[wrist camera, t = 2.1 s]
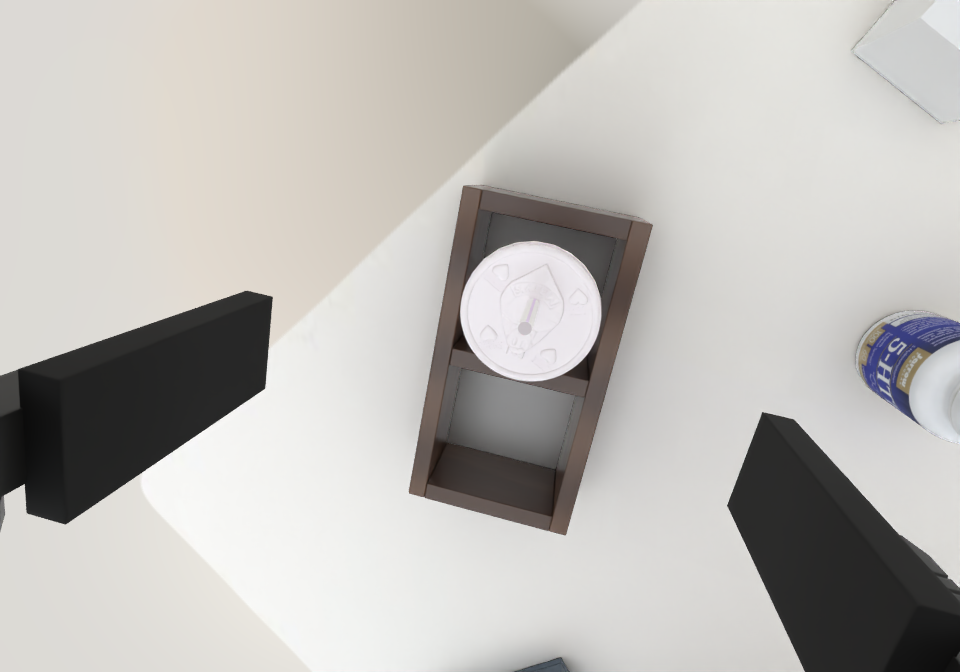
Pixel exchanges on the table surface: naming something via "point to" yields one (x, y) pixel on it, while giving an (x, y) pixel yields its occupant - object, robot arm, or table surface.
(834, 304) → the table surface
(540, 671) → the tray
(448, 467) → the rack
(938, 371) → the pill bottle
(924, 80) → the white cube
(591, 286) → the smoothie
